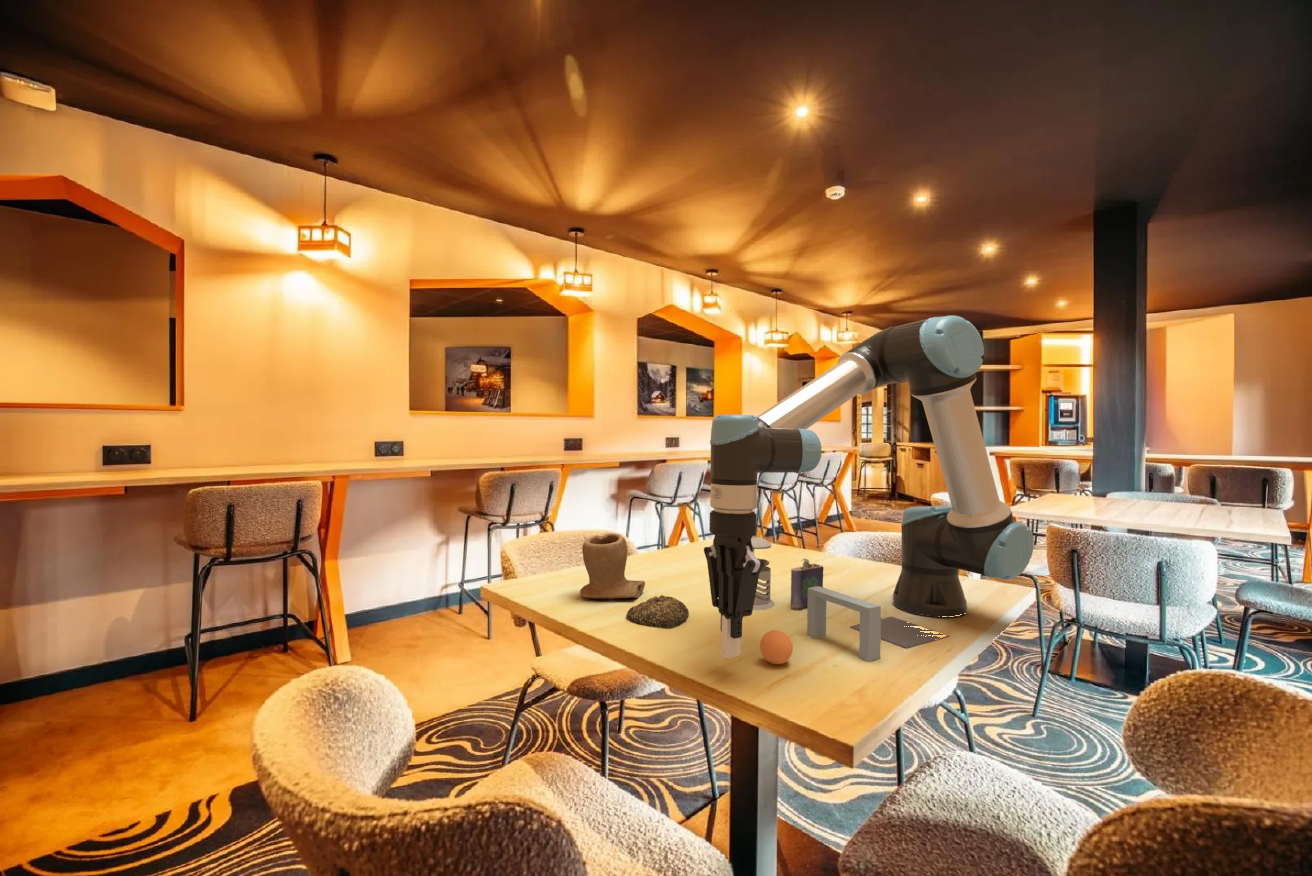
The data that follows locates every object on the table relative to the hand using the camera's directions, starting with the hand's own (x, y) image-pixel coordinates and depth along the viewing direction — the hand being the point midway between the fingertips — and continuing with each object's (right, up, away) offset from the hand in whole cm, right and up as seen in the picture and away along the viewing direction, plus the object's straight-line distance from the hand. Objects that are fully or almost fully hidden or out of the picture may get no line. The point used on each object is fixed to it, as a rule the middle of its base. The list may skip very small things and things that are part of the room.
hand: (730, 655), depth 92 cm
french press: (+9, -3, +39) cm, 40 cm away
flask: (+22, -3, +37) cm, 43 cm away
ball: (+8, 0, +5) cm, 10 cm away
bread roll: (-11, -3, +28) cm, 31 cm away
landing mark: (+36, -3, +21) cm, 42 cm away
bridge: (+22, -3, +13) cm, 26 cm away
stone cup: (-23, -3, +42) cm, 48 cm away
